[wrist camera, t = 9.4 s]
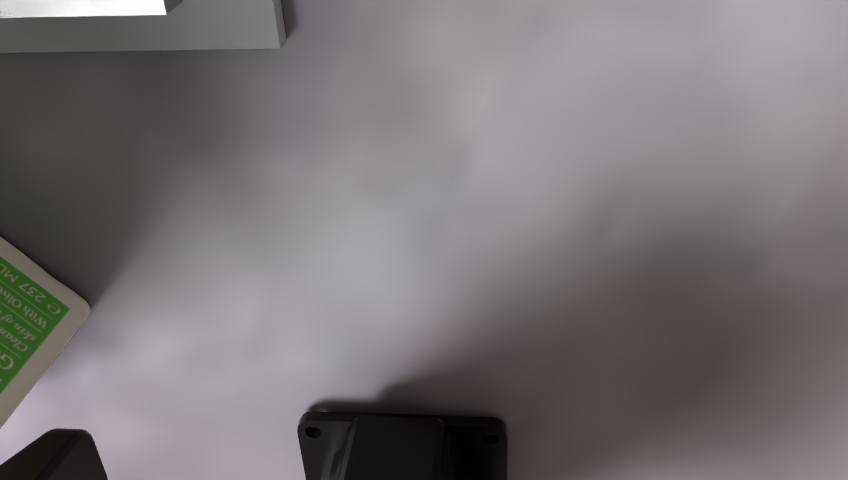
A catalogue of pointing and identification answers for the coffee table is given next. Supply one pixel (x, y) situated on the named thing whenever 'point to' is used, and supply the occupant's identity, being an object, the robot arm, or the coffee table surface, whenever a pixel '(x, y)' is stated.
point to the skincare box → (31, 324)
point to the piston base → (153, 29)
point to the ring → (84, 8)
